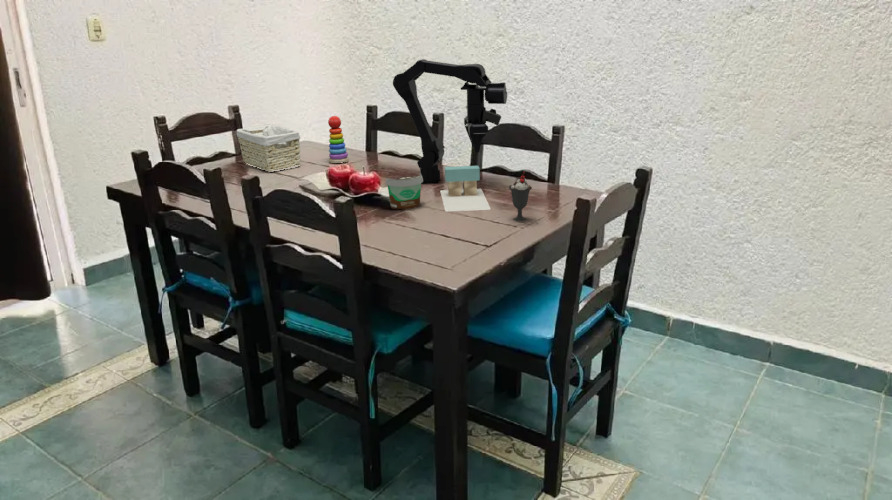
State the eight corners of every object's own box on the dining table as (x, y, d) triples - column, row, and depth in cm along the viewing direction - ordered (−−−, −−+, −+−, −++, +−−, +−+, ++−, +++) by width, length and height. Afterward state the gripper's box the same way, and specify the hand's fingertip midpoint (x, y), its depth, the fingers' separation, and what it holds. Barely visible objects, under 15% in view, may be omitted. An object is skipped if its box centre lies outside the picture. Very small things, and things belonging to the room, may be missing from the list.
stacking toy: (335, 159, 270) (331, 114, 264) (352, 160, 268) (348, 114, 261) (325, 163, 264) (321, 117, 257) (343, 165, 261) (339, 117, 254)
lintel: (446, 181, 212) (445, 169, 210) (445, 178, 215) (444, 167, 214) (479, 180, 212) (479, 168, 211) (478, 177, 216) (478, 165, 215)
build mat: (445, 212, 199) (445, 211, 198) (440, 191, 221) (440, 190, 221) (491, 210, 199) (491, 209, 199) (481, 189, 222) (481, 188, 222)
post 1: (449, 196, 213) (449, 181, 212) (448, 193, 217) (448, 178, 215) (461, 196, 214) (461, 181, 212) (460, 192, 217) (460, 178, 216)
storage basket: (305, 167, 259) (301, 130, 253) (268, 175, 249) (263, 136, 243) (275, 158, 275) (271, 123, 270) (239, 165, 265) (234, 129, 260)
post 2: (464, 196, 214) (464, 181, 212) (463, 192, 217) (463, 178, 216) (476, 195, 214) (476, 180, 212) (475, 192, 218) (475, 177, 216)
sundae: (525, 225, 186) (526, 174, 180) (504, 221, 189) (504, 171, 184) (535, 219, 191) (536, 168, 186) (514, 215, 194) (515, 166, 189)
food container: (394, 214, 199) (392, 182, 195) (386, 208, 204) (384, 177, 200) (430, 207, 204) (429, 176, 200) (422, 202, 209) (421, 172, 206)
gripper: (503, 106, 210) (503, 154, 215) (495, 98, 227) (495, 143, 233) (469, 107, 209) (469, 155, 214) (463, 99, 226) (464, 144, 232)
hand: (475, 149), depth 223 cm, fingers open, 9 cm apart
